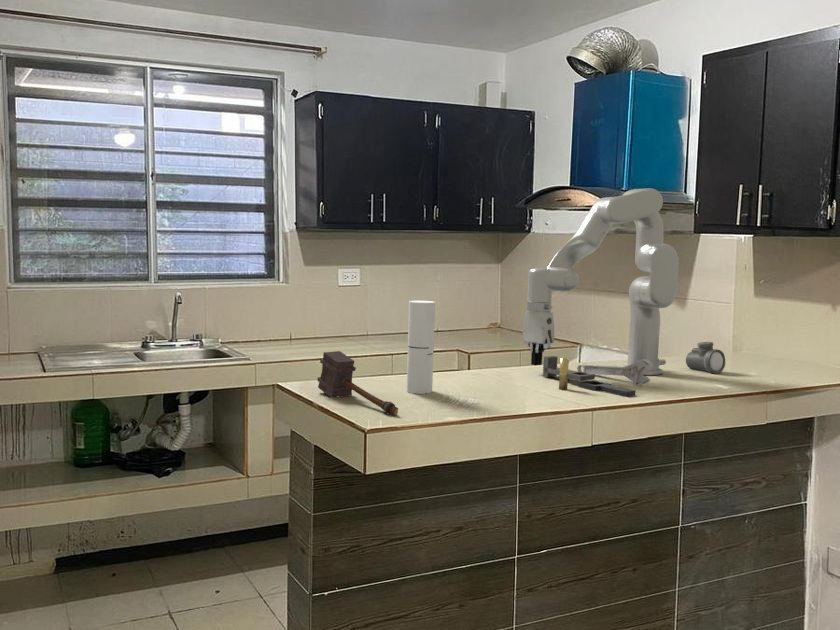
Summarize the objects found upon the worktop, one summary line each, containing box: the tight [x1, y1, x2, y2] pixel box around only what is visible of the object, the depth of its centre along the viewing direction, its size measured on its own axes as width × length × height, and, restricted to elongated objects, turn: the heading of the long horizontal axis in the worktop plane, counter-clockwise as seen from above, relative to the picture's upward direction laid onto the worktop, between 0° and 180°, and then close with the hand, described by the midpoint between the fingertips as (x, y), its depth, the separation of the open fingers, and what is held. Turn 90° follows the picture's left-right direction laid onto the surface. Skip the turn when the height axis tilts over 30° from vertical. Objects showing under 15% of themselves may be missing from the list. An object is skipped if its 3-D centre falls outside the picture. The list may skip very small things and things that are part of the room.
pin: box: [558, 357, 570, 391], centre depth 231 cm, size 2×2×9 cm
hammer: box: [316, 350, 399, 416], centre depth 205 cm, size 7×33×10 cm, turn 36°
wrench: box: [576, 360, 654, 386], centre depth 249 cm, size 8×2×30 cm
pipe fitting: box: [685, 341, 726, 375], centre depth 270 cm, size 12×8×10 cm
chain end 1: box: [542, 355, 596, 382], centre depth 244 cm, size 6×17×6 cm, turn 36°
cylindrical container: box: [406, 299, 436, 395], centre depth 222 cm, size 7×7×25 cm
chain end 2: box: [577, 379, 636, 398], centre depth 231 cm, size 7×17×1 cm, turn 36°
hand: (536, 364), depth 255 cm, fingers closed
